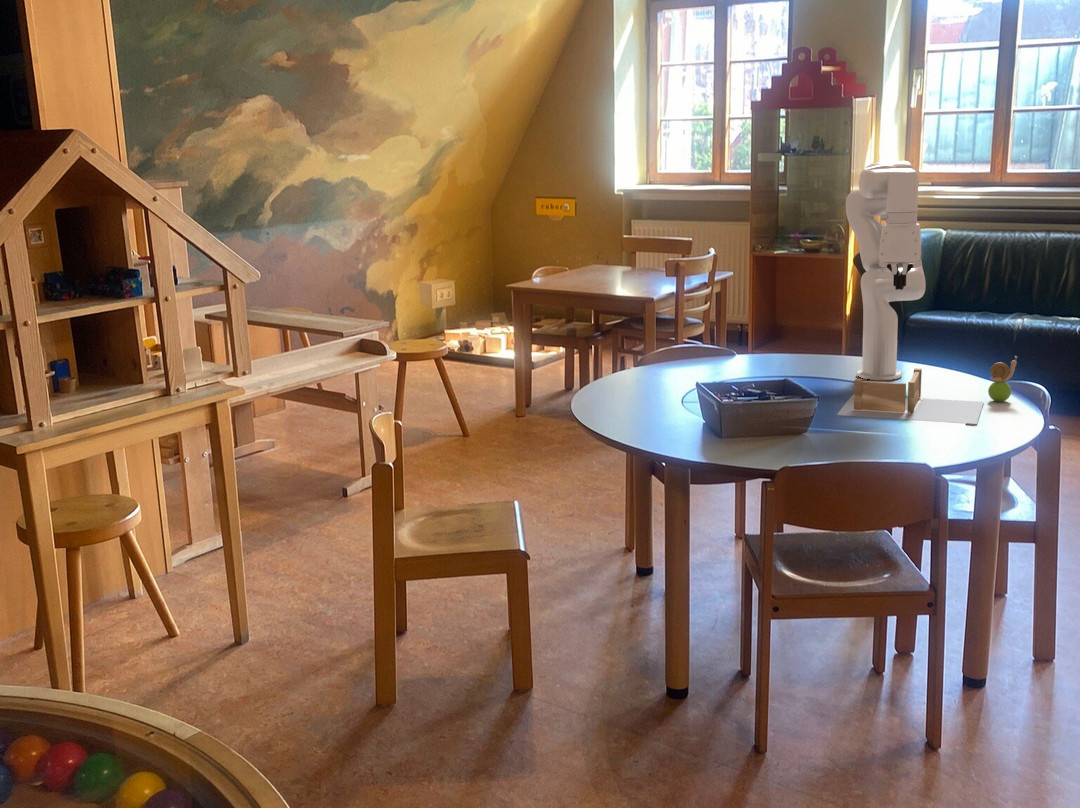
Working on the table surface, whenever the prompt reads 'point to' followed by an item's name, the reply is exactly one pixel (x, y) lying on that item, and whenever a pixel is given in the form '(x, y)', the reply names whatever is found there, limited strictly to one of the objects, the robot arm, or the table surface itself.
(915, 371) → the hinged fence panel
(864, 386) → the fixed fence section
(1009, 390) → the snail figurine
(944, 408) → the card
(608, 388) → the table surface
